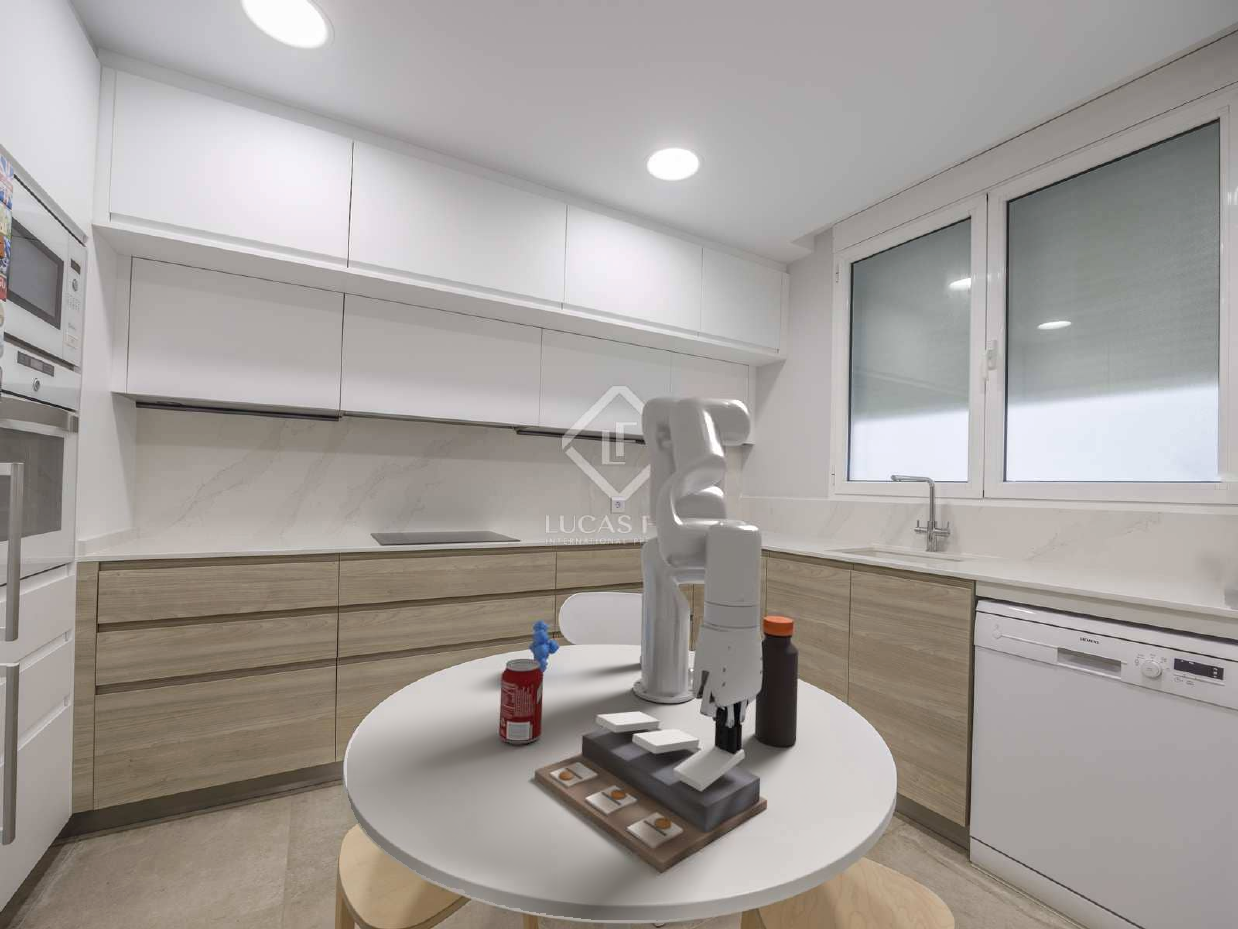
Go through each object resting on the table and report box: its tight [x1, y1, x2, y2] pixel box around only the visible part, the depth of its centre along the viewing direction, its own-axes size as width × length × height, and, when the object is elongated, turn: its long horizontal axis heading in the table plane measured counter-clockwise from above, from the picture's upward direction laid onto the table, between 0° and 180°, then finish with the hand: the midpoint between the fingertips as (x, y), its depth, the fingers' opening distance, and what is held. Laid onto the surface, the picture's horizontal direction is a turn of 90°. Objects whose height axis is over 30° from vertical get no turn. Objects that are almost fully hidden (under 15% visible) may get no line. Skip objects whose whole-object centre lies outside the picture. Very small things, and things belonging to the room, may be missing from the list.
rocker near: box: [673, 739, 746, 791], centre depth 74 cm, size 9×4×1 cm, turn 132°
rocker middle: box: [632, 728, 700, 754], centre depth 80 cm, size 9×4×1 cm, turn 131°
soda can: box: [498, 658, 544, 746], centre depth 93 cm, size 7×7×12 cm
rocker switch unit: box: [534, 727, 768, 873], centre depth 77 cm, size 20×25×4 cm
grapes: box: [528, 620, 560, 674], centre depth 123 cm, size 12×7×12 cm, turn 11°
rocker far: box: [595, 711, 660, 733], centre depth 86 cm, size 9×4×1 cm, turn 131°
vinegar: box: [754, 615, 799, 748], centre depth 96 cm, size 7×7×20 cm
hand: (727, 752), depth 76 cm, fingers closed
